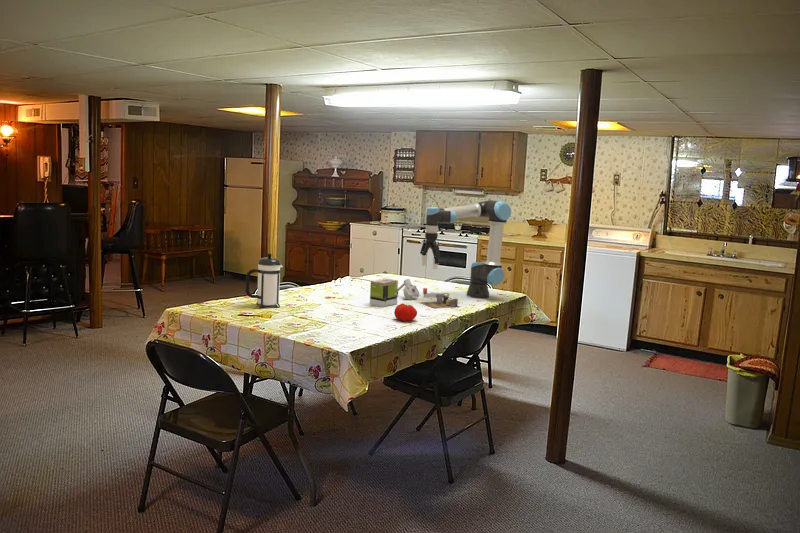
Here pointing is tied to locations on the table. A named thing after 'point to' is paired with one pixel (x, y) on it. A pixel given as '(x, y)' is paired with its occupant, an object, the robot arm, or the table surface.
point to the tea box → (383, 292)
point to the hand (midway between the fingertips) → (429, 267)
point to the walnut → (448, 302)
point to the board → (441, 304)
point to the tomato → (405, 312)
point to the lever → (435, 295)
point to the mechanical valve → (409, 290)
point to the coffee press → (266, 281)
